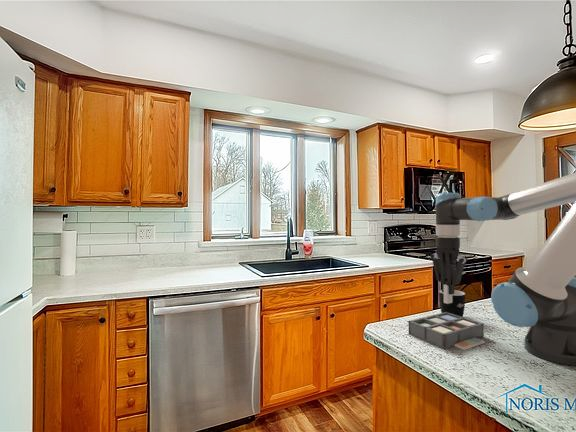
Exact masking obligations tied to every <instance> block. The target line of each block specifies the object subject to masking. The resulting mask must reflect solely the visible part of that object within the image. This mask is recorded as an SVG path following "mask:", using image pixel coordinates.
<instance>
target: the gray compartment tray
mask: <svg viewBox="0 0 576 432" xmlns="http://www.w3.org/2000/svg"><path fill="white" fill-rule="evenodd" d="M445 315H449V316H452V317H455V318H457V319H454V320H449V319H446V318H443V317H441V316H445ZM461 320H465V321H468V322H471V323H474V324H475V325H472V326H467V325H464V324H461V323H458V321H461ZM422 323H426V324H429V325H431V326H427V327H426V326H423V325H420V324H422ZM451 325H452V326H455V327H458V328H461V329H458V330H457V329H454V328H451V327H448V326H451ZM439 326H441V327H444V328H446V329H449V330H452V331H451V332H448V333H441V332H439V331H436V330H433V329H431V328H435V327H439ZM484 332H485V330H484V323H483V322H479V321H476V320H473V319H470V318H467V317H464V316H463V317H461V316H457V315H454V314H451V313H448V312H444V313H436V314H433V315H428V316H424V317H419V318H415V319H410V320H408V335H411V336H412V337H416V338H418V339H420V340H422V341H425V342H427V343H429V344H431V345H434V346H436V347H438V348H441V349H443V350H447V349H450V348H453V347H456V348H458V349H460V350H463V351H466V350H468V349H472V348H474V347H476V346H479V345H483V344H485V342H486V341H485V340H483V339H482V338H484V336H485V333H484Z"/></svg>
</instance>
